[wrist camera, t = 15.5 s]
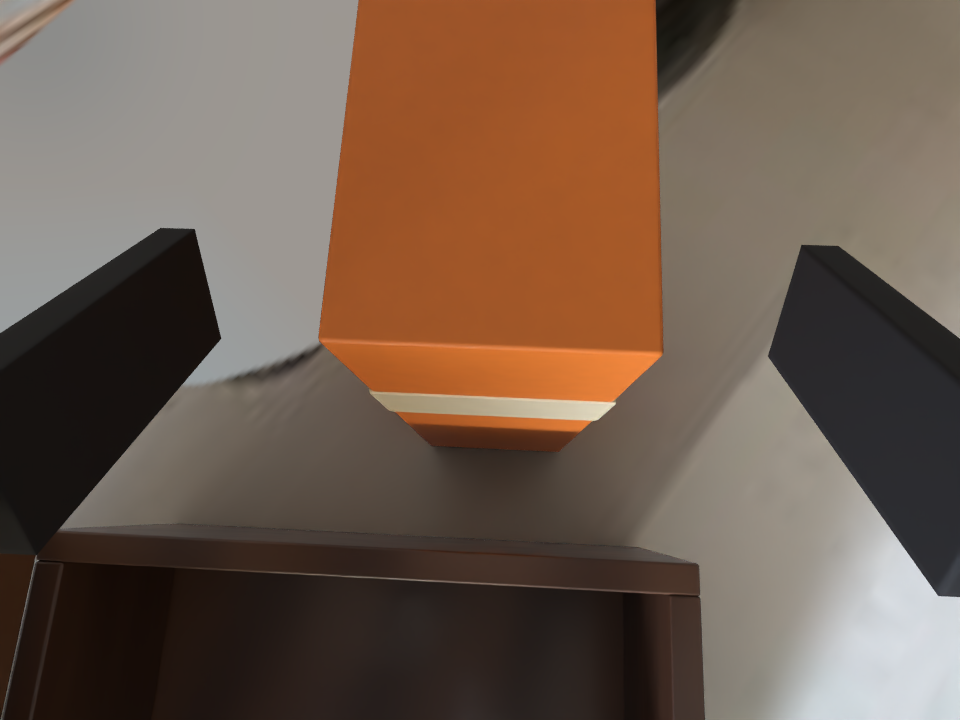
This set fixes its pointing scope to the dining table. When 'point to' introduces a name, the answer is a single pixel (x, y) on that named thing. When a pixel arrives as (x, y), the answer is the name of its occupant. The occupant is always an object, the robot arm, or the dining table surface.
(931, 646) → the dining table surface
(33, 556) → the lid
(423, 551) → the storage box
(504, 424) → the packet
